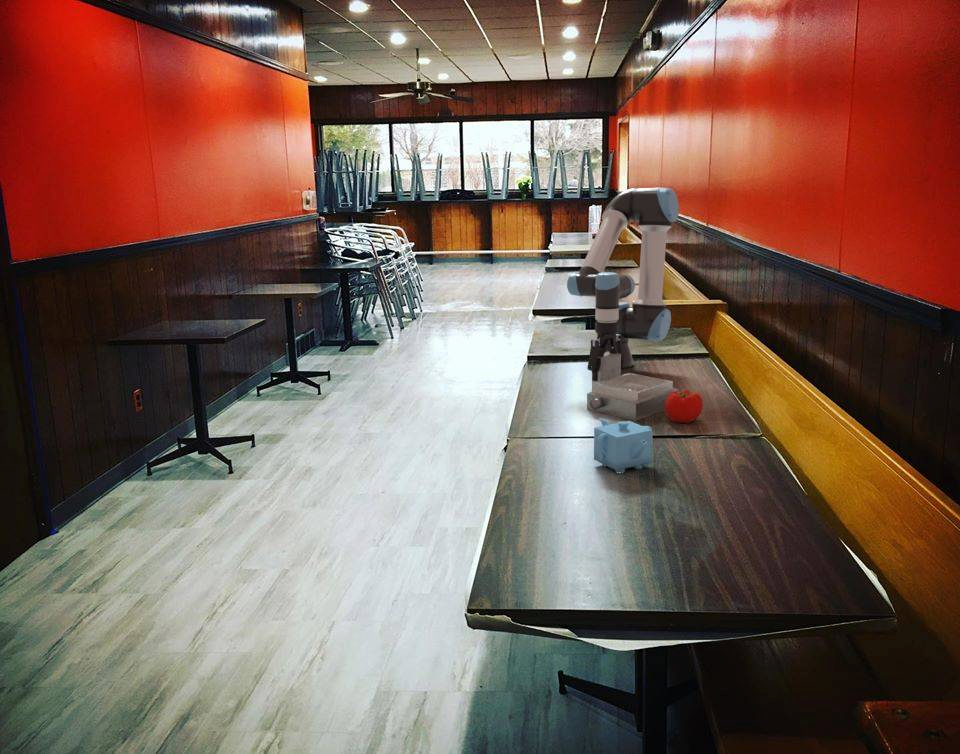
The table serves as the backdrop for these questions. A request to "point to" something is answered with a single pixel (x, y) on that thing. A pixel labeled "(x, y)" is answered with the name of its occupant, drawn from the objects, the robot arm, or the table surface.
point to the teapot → (622, 445)
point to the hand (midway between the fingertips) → (606, 387)
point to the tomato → (683, 406)
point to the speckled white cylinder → (610, 366)
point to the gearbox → (630, 396)
